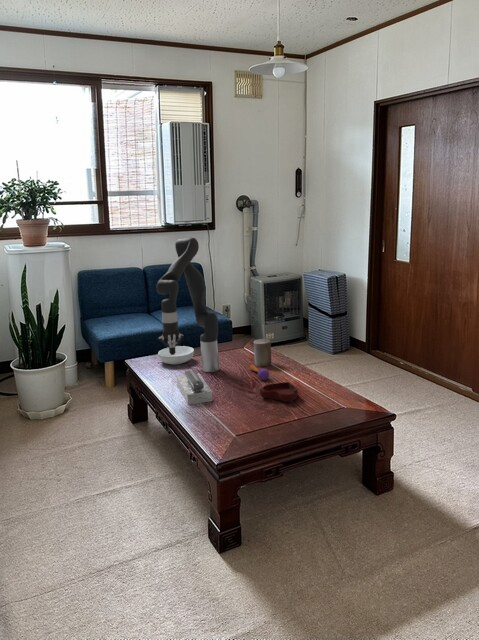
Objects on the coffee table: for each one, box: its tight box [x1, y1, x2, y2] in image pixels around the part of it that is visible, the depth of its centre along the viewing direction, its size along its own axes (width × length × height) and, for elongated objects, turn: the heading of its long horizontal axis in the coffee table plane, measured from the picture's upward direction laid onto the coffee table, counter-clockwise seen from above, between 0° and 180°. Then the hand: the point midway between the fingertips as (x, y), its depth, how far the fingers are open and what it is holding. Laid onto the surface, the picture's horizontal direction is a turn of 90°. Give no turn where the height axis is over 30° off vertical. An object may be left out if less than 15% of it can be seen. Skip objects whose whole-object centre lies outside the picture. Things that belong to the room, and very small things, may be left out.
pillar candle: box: [253, 338, 273, 368], centre depth 315 cm, size 10×10×15 cm
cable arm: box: [184, 368, 204, 389], centre depth 273 cm, size 5×22×3 cm, turn 17°
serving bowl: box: [157, 345, 195, 365], centre depth 327 cm, size 21×21×7 cm
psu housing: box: [176, 372, 214, 406], centre depth 277 cm, size 12×28×7 cm, turn 17°
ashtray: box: [259, 381, 299, 404], centre depth 268 cm, size 18×16×5 cm
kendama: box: [249, 364, 270, 381], centre depth 298 cm, size 6×6×20 cm
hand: (172, 354), depth 276 cm, fingers closed
